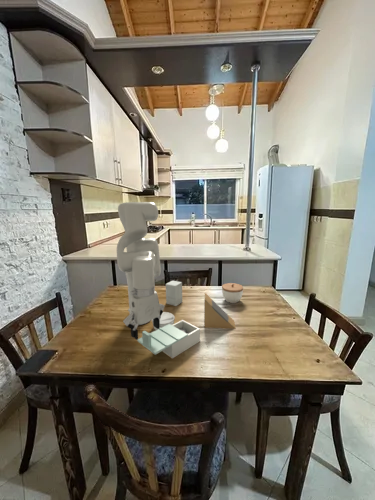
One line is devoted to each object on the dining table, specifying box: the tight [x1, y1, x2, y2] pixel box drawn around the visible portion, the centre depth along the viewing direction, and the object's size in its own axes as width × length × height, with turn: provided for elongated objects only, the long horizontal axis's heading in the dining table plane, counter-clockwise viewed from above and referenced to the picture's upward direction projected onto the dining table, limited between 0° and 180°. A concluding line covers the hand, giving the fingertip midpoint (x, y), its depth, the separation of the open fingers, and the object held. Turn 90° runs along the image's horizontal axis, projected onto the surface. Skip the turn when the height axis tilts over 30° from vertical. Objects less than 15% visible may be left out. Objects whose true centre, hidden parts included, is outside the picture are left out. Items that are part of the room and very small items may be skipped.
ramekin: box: [151, 311, 175, 331], centre depth 112 cm, size 11×11×5 cm
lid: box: [136, 324, 188, 356], centre depth 92 cm, size 12×17×6 cm
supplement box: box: [165, 280, 183, 307], centre depth 138 cm, size 7×7×13 cm
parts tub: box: [162, 319, 201, 359], centre depth 99 cm, size 11×16×6 cm
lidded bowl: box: [221, 282, 244, 304], centre depth 141 cm, size 13×13×11 cm
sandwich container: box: [203, 292, 237, 330], centre depth 114 cm, size 9×15×15 cm, turn 85°
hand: (146, 332), depth 87 cm, fingers open, 9 cm apart
